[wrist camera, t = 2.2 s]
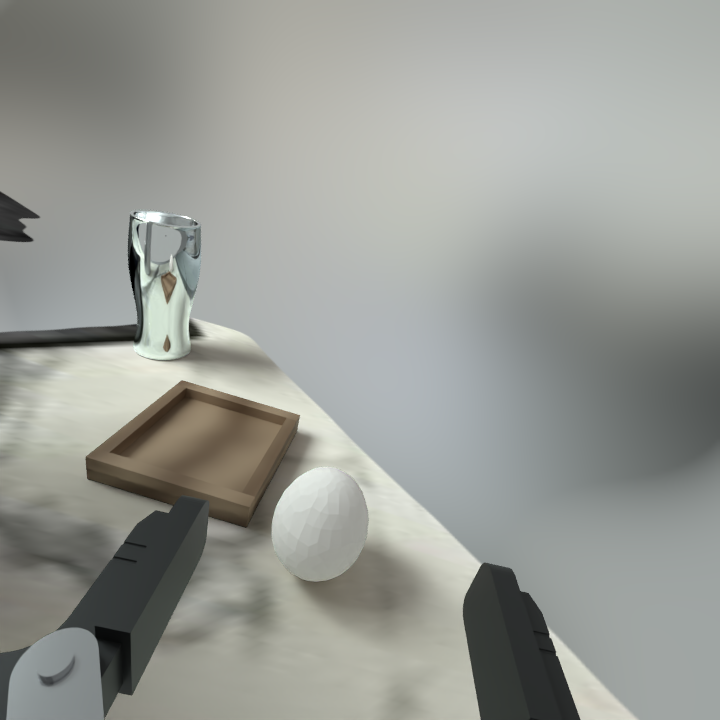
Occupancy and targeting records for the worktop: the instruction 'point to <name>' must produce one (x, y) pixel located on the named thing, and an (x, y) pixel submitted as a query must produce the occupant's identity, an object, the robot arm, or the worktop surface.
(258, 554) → the worktop surface
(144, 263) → the beer glass
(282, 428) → the walnut tray
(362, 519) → the egg
